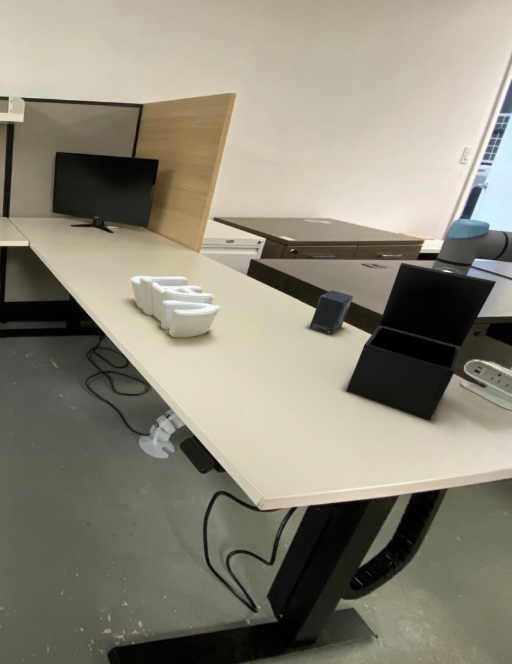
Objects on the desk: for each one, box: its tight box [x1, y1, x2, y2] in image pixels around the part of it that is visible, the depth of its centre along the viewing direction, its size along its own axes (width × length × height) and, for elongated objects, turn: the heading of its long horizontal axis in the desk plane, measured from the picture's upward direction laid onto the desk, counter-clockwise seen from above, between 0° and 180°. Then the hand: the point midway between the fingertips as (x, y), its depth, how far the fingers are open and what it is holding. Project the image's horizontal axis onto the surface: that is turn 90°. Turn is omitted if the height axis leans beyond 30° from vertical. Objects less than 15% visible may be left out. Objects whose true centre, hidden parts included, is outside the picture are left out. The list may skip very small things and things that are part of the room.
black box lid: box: [378, 262, 497, 348], centre depth 101 cm, size 18×16×1 cm
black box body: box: [345, 325, 461, 422], centre depth 104 cm, size 17×16×12 cm
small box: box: [308, 289, 354, 336], centre depth 139 cm, size 11×6×10 cm, turn 134°
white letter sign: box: [130, 275, 221, 338], centre depth 136 cm, size 35×16×11 cm, turn 11°
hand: (431, 305), depth 102 cm, fingers closed
